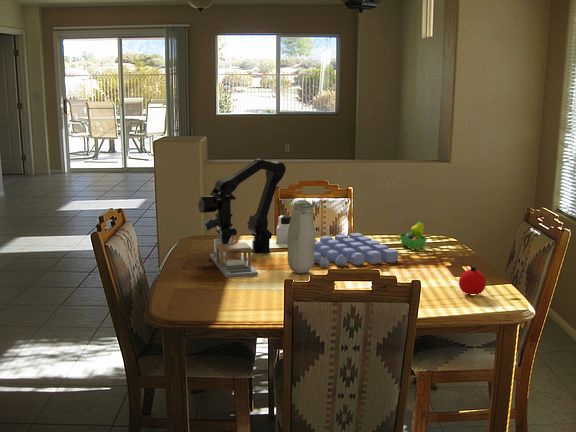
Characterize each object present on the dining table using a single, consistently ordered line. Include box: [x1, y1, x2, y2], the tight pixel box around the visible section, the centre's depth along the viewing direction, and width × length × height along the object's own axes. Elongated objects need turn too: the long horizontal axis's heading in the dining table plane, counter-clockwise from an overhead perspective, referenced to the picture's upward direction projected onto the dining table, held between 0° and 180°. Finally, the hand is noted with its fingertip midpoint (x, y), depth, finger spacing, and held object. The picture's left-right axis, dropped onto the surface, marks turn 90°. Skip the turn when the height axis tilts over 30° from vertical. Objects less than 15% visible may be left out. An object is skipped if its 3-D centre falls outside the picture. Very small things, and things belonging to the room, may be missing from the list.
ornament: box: [458, 266, 487, 295], centre depth 228 cm, size 9×9×10 cm
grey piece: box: [209, 242, 259, 279], centre depth 260 cm, size 12×30×8 cm, turn 18°
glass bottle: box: [287, 199, 316, 274], centre depth 251 cm, size 10×10×28 cm
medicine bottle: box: [275, 214, 291, 245], centre depth 300 cm, size 7×7×12 cm
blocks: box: [313, 232, 399, 269], centre depth 280 cm, size 35×34×5 cm
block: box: [226, 251, 242, 260], centre depth 259 cm, size 5×5×4 cm
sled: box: [213, 237, 245, 266], centre depth 266 cm, size 7×24×5 cm, turn 18°
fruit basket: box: [399, 221, 428, 249], centre depth 293 cm, size 11×9×11 cm
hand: (224, 247), depth 274 cm, fingers closed
